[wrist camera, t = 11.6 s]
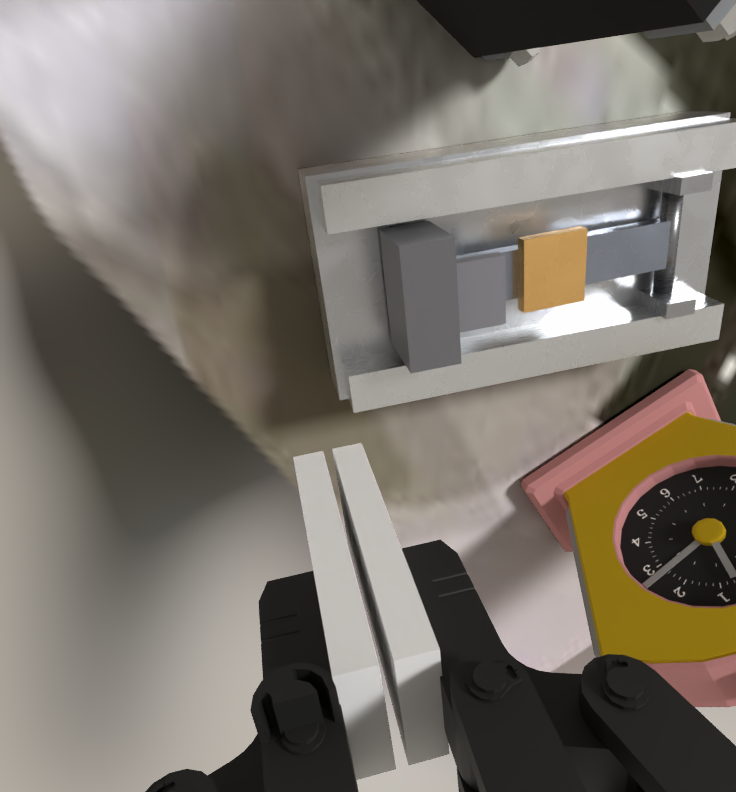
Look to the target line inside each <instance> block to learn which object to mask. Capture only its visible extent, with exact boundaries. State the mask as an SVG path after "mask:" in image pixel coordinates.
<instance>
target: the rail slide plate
mask: <svg viewBox="0 0 736 792" xmlns="http://www.w3.org/2000/svg"><path fill="white" fill-rule="evenodd" d="M731 168H736V119H731V118H730V112H703V111H683V112H676V113H670V114H663V115H656V116H649V117H643V118H636V119H629V120H623V121H616V122H609V123H603V124H596V125H589V126H582V127H576V128H569V129H562V130H556V131H549V132H542V133H536V134H529V135H522V136H515V137H509V138H502V139H495V140H489V141H482V142H475V143H469V144H462V145H455V146H448V147H442V148H435V149H428V150H422V151H415V152H408V153H401V154H395V155H388V156H381V157H375V158H368V159H361V160H355V161H348V162H341V163H334V164H328V165H321V166H314V167H308V168H301V169H298V174H299V180H300V186H301V193H302V199H303V205H304V211H305V217H306V224H307V230H308V236H309V242H310V249H311V255H312V261H313V267H314V273H315V280H316V286H317V292H318V298H319V304H320V311H321V317H322V323H323V329H324V336H325V342H326V348H327V354H328V360H329V367H330V373H331V377H332V380H333V383H334V386H335V388H336V391H337V394H338V397H339V399H340V400H345V399H348V400H349V402H350V405H351V407H352V410H353V413H357V412H361V411H366V410H371V409H376V408H381V407H386V406H391V405H396V404H401V403H406V402H411V401H416V400H421V399H426V398H431V397H436V396H441V395H446V394H450V393H455V392H460V391H465V390H470V389H475V388H480V387H485V386H490V385H495V384H500V383H505V382H510V381H515V380H520V379H525V378H530V377H535V376H539V375H544V374H549V373H554V372H559V371H564V370H569V369H574V368H579V367H584V366H589V365H594V364H599V363H604V362H609V361H614V360H619V359H624V358H628V357H633V356H638V355H643V354H648V353H653V352H658V351H663V350H668V349H673V348H678V347H683V346H688V345H693V344H698V343H703V342H708V341H713V340H717V339H719V334H720V327H721V321H722V315H723V309H724V303H721V302H719V301H717V300H714V299H712V298H709V297H707V296H705V295H704V294H705V287H706V280H707V273H708V266H709V259H710V252H711V245H712V238H713V231H714V224H715V217H716V210H717V203H718V196H719V189H720V182H721V175H722V170H725V169H731ZM662 192H666V193H670V194H675V195H679V196H681V195H684V198H683V207H682V215H681V224H680V232H679V241H678V250H677V258H676V267H675V275H674V284H673V292H672V293H669V294H657V293H654V292H653V291H652V290H653V280H654V271H651V272H646V273H641V274H636V275H631V276H626V277H621V278H616V279H611V280H606V281H601V282H596V283H591V284H586V285H585V297H584V301H581V302H576V303H571V304H566V305H561V306H556V307H551V308H547V309H542V310H537V311H532V312H527V313H523V312H522V311H520V310H519V309H518V298H517V299H512V300H507V301H506V324H503V325H498V326H492V327H487V328H482V329H476V330H471V331H466V332H461V333H460V343H461V363H462V364H457V365H452V366H447V367H441V368H436V369H431V370H426V371H421V372H416V373H410V371H409V370H408V368H407V367H406V365H405V364H404V362H403V361H402V359H401V358H400V356H399V355H398V353H397V352H396V350H395V348H394V347H393V345H392V344H391V335H390V326H389V317H388V307H387V298H386V289H385V279H384V270H383V261H382V251H381V242H380V233H379V229H383V228H389V227H395V226H401V225H407V224H413V223H420V222H426V221H430V222H431V223H433V224H435V225H436V226H438V227H439V228H441V229H443V230H444V231H446V232H447V233H449V234H451V235H452V236H454V237H455V245H456V256H458V255H464V254H469V253H475V252H480V251H485V250H491V249H496V248H501V247H507V246H512V245H518V237H523V236H529V235H534V234H539V233H545V232H550V231H556V230H561V229H567V228H572V227H578V226H582V227H585V228H588V231H593V230H598V229H604V228H609V227H614V226H620V225H625V224H630V223H636V222H641V221H647V220H652V219H657V218H660V211H661V201H662Z"/></svg>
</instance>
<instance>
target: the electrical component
mask: <svg viewBox="0 0 736 792" xmlns="http://www.w3.org/2000/svg"><path fill="white" fill-rule="evenodd" d="M417 1H418V2H419V3H420V4H421V5H422V6H423V7H424V8H425V9H426V10H427V11H428V12H429V13H430V14H431V15H432V16H433V17H434V18H435V19H436V20H437V21H438V22H439V23H440V24H441V25H442V26H443V27H444V28H445V29H446V30H447V31H448V32H449V33H450V34H451V35H452V36H453V37H454V38H455V39H456V40H457V41H458V42H459V43H460V44H461V45H462V46H463V47H464V48H465V49H466V50H467V51H468V52H469V53H470V54H471V55H472V56H473V57H474V58H475V57H482V58H483V59H484V60H485V61H488V60H496V59H503V58H509V57H510V58H511V59H512V60H513V61H514V62H515V63H516V64H517V65H518V66H521V65H524V64H526V63H527V62H528V61H531V60H532V59H533V58H534V57H535V56H536V55H537V54H538V53H539V51H540V49H541V48H542V47H546V46H553V45H559V44H566V43H572V42H579V41H585V40H592V39H598V38H605V37H611V36H618V35H624V34H631V33H637V32H643V33H644V35H645V36H646V37H647V39H652V38H660V37H667V36H675V35H682V34H690V33H697V34H698V36H699V37H700V38H701V40H702V41H703V42H710V41H718V40H720V39H722V38H725V39H726V40H728V39H730V38H732V37H734V36H735V35H736V0H417Z"/></svg>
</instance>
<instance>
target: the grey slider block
mask: <svg viewBox="0 0 736 792" xmlns="http://www.w3.org/2000/svg"><path fill="white" fill-rule="evenodd" d="M379 233H380V242H381V251H382V261H383V270H384V279H385V289H386V298H387V307H388V317H389V326H390V335H391V344H392V345H393V347H394V348H395V350H396V352H397V353H398V355H399V356H400V358H401V359H402V361H403V362H404V364H405V365H406V367H407V368H408V370H409V371H410V373H416V372H421V371H426V370H431V369H436V368H441V367H447V366H452V365H457V364H462V363H461V343H460V333H461V332H466V331H471V330H476V329H482V328H487V327H492V326H498V325H503V324H506V289H505V255H504V254H502V253H500V252H493V253H487V254H482V255H476V256H470V257H464V258H459V259H456V245H455V237H454V236H452V235H451V234H449V233H447V232H446V231H444V230H443V229H441V228H439V227H438V226H436V225H435V224H433V223H431V222H430V221H426V222H420V223H413V224H407V225H401V226H395V227H389V228H383V229H379Z"/></svg>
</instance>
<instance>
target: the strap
mask: <svg viewBox="0 0 736 792" xmlns="http://www.w3.org/2000/svg"><path fill="white" fill-rule="evenodd" d="M683 198H684V195H681V196H679V195H675V194H670V193H666V192H662V201H661V211H660V218H657V219H652V220H647V221H641V222H636V223H630V224H625V225H620V226H614V227H609V228H604V229H598V230H593V231H588V228H585V227H582V226H578V227H572V228H567V229H561V230H556V231H550V232H545V233H539V234H534V235H529V236H523V237H518V245H512V246H507V247H501V248H496V249H491V250H485V251H480V252H475V253H469V254H464V255H458V256H456V259H459V258H464V257H470V256H476V255H482V254H487V253H493V252H500V253H502V254H504V255H505V289H506V301H507V300H512V299H517V298H518V309H519V310H520V311H522V312H523V313H527V312H532V311H537V310H542V309H547V308H551V307H556V306H561V305H566V304H571V303H576V302H581V301H584V297H585V285H586V284H591V283H596V282H601V281H606V280H611V279H616V278H621V277H626V276H631V275H636V274H641V273H646V272H651V271H654V280H653V290H652V291H653V292H654V293H657V294H669V293H672V292H673V284H674V275H675V267H676V258H677V250H678V241H679V232H680V224H681V215H682V207H683Z"/></svg>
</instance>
